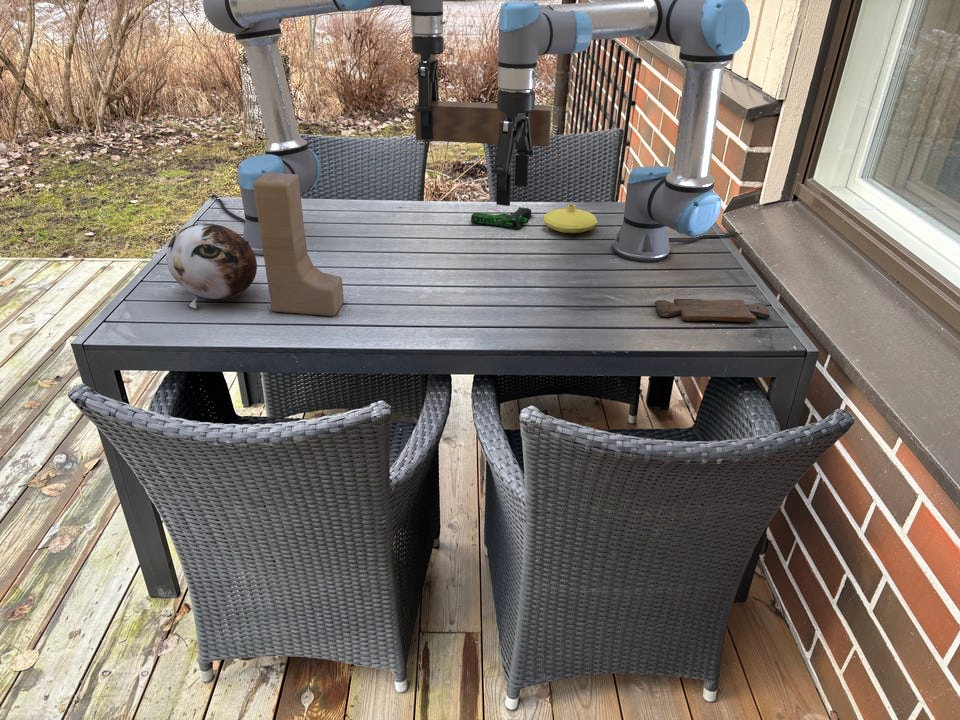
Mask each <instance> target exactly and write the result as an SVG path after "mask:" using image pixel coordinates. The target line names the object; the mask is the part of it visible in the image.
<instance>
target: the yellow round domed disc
mask: <svg viewBox="0 0 960 720" xmlns="http://www.w3.org/2000/svg"><path fill="white" fill-rule="evenodd" d="M543 222H544V225H545V226H546V227H548V228H550V229H551V230H554V231H556V232H559V233H564V234H580V233H584V232H585V233H586V232H587V231H591V230H592V229H594V228H596V226H597V223H598V219H597V217H596V215H595V214H593V213H591V212H589V211H587V210H584V209H578V208H576V205H575V204H571V203H570V204H567V208H557V209H552V210H549V211H548V212H547V213H545V214H544V216H543Z"/></svg>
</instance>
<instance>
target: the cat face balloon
mask: <svg viewBox="0 0 960 720" xmlns="http://www.w3.org/2000/svg"><path fill="white" fill-rule="evenodd" d="M248 242H249V241H246V240H245V239H244V238H243V236H242V235H240V234H239V233H238V232H236V231H234V230H233V229H231V228H229V227H226V226H223V225H220V224H215V223H205V222H204V223H195V224H191V225H188V226H186V227H183V228H182V229H180V230H179V231H177V232H176V233H175V234H174V235H173V237H171V239H170V241H169V243H168V245H167V248H166V254H165V260H166V265H167V268H168V271H169V273H170V275H171V276H172V277H173V279H174V280H175V281H176V282H177V284H178V285H180V286H181V287H182V288H183V289H185V290H186V291H187V292H189V293H191V294H194V295H195V298H194V299H193V300H192V302H190V303H189V304H188V306H189V307H191V308H192V309H197V308H198V307H197V298H198V297H201V298H205V299H210V300H226V299H230V298H233V297H236V296H238V295H241V294H242V293H244V292H245V291H247V290H248V289H249V288H250V286H251V285H252V284H253V282H254V280H255V278H256V275H257V271H258V262H257V257H256V254H254V252H253V250H252V248H251V247H250V245H249V244H248Z"/></svg>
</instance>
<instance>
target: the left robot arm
mask: <svg viewBox="0 0 960 720" xmlns="http://www.w3.org/2000/svg"><path fill="white" fill-rule="evenodd" d="M386 6H399V7H401V6H403V7H409V8H410V32H411V34H413V35H412V36H411V52H412V53H413V54H415V55H420V61H418V66H417V68H416V71H417V84H418V85H417V87H418V88H417V90H418V93H417V94H418V95H417V96H418V97H417V98H418V101H419V107H418V109H417V112H421V139H433V126H432V111H431V101H440V96H439V94H440V92H439V62H440V61H439V59H438V58H436V55H441V54H443V53H444V52H445V51H444V50H445V46H444V45H445V43H444V41H445V40H444V36H443V35H442V34H443V33H444V25H446V24H447V21H446V20H445V19H444V0H202V7H203V12H204V15H205V17H206V19H207V20H208V22H209V23H210V24H211V26H213V27H214V28H215V29H216V30H218V31H220V32H223V33H226V34H232V35H234V37H235V41H236V42H237V43H238V44H240V45H241V46H242V47H243V48H244V53H245V56H246V61H247V64H248V67H249V72H250V75H251V79H252V80H251V81H252V83H253V86H254V91H255V95H256V98H257V103H258V107H259V110H260V114H261V118H262V122H263V125H264V130H265V134H266V138H267V141H268V142H267V144H266V146H265V147H264V153H265V154H258V155H252V156H249V157H248V158H246V159H244V160H242V161H241V162H240V163H239V165H238V168H237V174H238V179H237V181H238V185H239V190H240V196H241V202H242V203H241V204H242V208H243V212H244V213H243V215H244V218H243V217H240V216H238V215H236V214H235V213H233V212H231V211H230V210H228V208H227V207H226V206H225V205H224V202H223V200H222V199H221V198H219V196H217V195H216V194H212V195H211V196H210V199H214V198H215V199H216V201H218V202H219V205H220V207H221V209H222V210H223V211H224V212H225V213H226V214H228V215H229V216H230V217H232V218H234V219H236V220H238V221H240V222H242V223H244V226H243V228H244V229H243V235H242V237H243V238H244V239H245V240H246V241H249V242H248V244H249V245H250V247H251V248H252V250H253V252H254V254H255V256H256V255H257V256H264V254H263V248H262V241H261V235H260V228H259V221H258V215H257V208H256V201H255V195H254V188H253V182H254V181H256V180H257V179H258V178H260V177H261V176H263V175H264V174H265V173H282V174H296V175H298V178H299V187H300V195H302V194H304V193H306V192H308V191H309V190H311V189H312V188H313V187H314V186H316V185H317V183H318V182H319V181H320V177H321V173H322V167H321V161H320V159H319V157H318V155H317V154H316V153H314V151H313V150H312V149H311V148H309V145H308V141H307V140H306V139H304V138H303V137H301V135H300V132H299V127H298V123H297V119H296V115H295V110H294V105H293V102H292V98H291V93H290V89H289V85H288V81H287V77H286V72H285V67H284V64H283V59H282V55H281V51H280V46H279V41H280V39H281V37H282V36H283V34H282V29H281V23H282V22H283V20H284V19H285V20H286V19H291V18H292V19H293V18H300V17H308V16H309V17H310V16H317V15H325V14H332V13H342V12H351V11H352V12H359V11H363V10H367V9H373V8H379V7H386ZM424 105H426V106H424ZM217 198H219V199H217Z"/></svg>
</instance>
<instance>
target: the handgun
mask: <svg viewBox="0 0 960 720" xmlns="http://www.w3.org/2000/svg"><path fill="white" fill-rule="evenodd" d="M531 217H532V209H531V208H528V207H521V206H519V207H518V208H517V209H516V210H515V211H514V212H510V213H509V214H508V213H498V214H492V213H484V212H473V213H472V214H471V217H470V223H473V224H474V223H475V224H480V225H481V224H482V225H490V226H491V225H492V226H499V227H502V228H503V227H504V228H508V229H514V230H518V229H520V228H521V227H523V226H524V225H527V224H529V219H530V218H531Z"/></svg>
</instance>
